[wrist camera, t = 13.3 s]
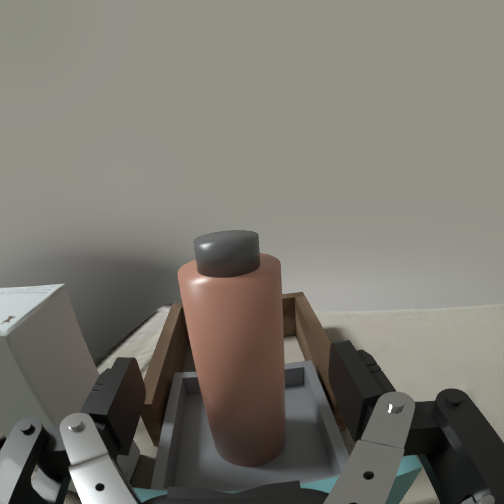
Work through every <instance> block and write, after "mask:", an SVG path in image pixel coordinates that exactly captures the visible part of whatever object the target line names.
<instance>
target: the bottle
mask: <svg viewBox="0 0 504 504" xmlns="http://www.w3.org/2000/svg"><path fill="white" fill-rule="evenodd" d="M193 242H194V250H195V257H196V260H193V261H191V262H189V263H187V264H185V265H184V266H182V267H181V268H180V269H179V271H178V279H179V285H180V291H181V297H182V302H183V308H184V313H185V319H186V324H187V329H188V334H189V339H190V344H191V349H192V354H193V359H194V363H195V368H196V373H197V377H198V381H199V386H200V390H201V394H202V398H203V402H204V406H205V410H206V414H207V418H208V422H209V426H210V430H211V434H212V437H213V441H214V444H215V448H216V450H217V452H218V454H219V455H220V456H221V457H222V458H223V459H224V460H226V461H227V462H229V463H231V464H234V465H237V466H243V467H253V466H259V465H263V464H266V463H268V462H270V461H272V460H273V459H275V458H276V457H277V456H278V455H279V454H280V453H281V452H282V450H283V448H284V446H285V442H286V419H285V368H284V335H283V308H282V285H281V264H280V261H279V260H278V259H277V258H275V257H273V256H271V255H268V254H263V253H260V252H259V237H258V234H257V233H256V232H252V231H245V230H232V231H222V232H215V233H210V234H206V235H202V236H200V237H197V238H196V239H195V240H194V241H193Z"/></svg>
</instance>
